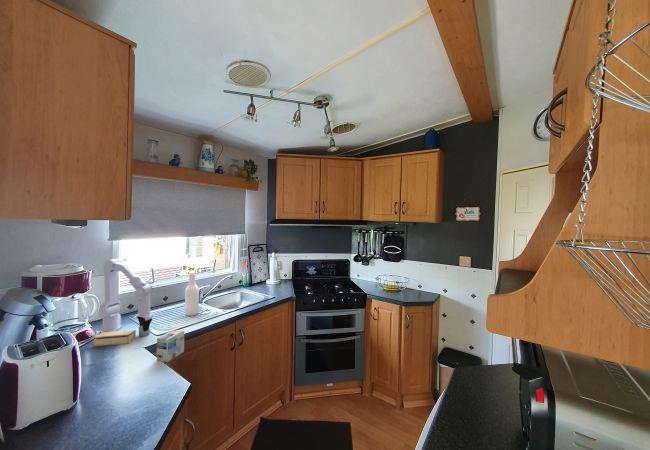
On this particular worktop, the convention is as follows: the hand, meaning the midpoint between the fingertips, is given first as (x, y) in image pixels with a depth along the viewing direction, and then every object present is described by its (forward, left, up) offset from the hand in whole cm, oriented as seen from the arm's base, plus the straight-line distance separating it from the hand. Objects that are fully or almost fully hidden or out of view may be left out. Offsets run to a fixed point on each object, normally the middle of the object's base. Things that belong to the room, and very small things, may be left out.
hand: (144, 329), depth 147 cm
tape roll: (0, 0, -3) cm, 3 cm away
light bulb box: (+29, +23, -4) cm, 37 cm away
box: (+6, -12, -3) cm, 13 cm away
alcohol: (-31, +17, -4) cm, 36 cm away
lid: (+6, -12, +1) cm, 13 cm away
